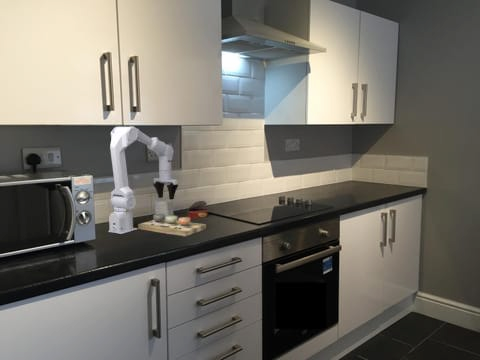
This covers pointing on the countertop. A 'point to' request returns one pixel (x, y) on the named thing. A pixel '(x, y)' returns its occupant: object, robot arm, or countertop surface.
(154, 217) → the grey button
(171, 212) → the medicine box
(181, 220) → the terracotta button
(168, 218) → the sage button
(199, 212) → the canned food
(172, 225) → the button board
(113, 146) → the robot arm
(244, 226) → the countertop surface
